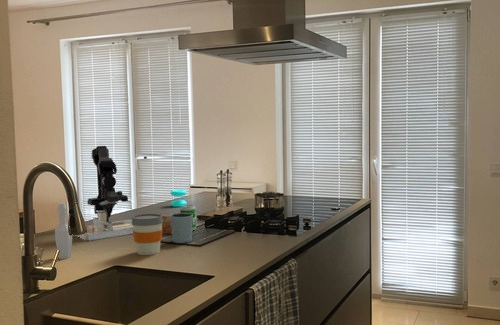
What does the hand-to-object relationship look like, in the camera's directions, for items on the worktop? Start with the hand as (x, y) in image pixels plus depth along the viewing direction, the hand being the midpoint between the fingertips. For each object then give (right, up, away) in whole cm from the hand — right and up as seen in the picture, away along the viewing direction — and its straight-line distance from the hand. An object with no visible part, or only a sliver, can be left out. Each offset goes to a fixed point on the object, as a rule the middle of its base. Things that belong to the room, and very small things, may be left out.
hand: (108, 217), depth 261 cm
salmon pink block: (-7, -7, -1) cm, 10 cm away
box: (-7, -8, -5) cm, 12 cm away
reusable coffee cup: (+27, -10, -41) cm, 50 cm away
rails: (+1, -7, +1) cm, 8 cm away
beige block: (-2, -5, -5) cm, 7 cm away
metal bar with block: (-3, -4, -2) cm, 5 cm away
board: (+4, -7, +4) cm, 9 cm away
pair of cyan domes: (+24, -1, +79) cm, 83 cm away
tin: (+28, -7, -2) cm, 29 cm away
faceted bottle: (-5, -12, -46) cm, 48 cm away
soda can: (+39, -7, +2) cm, 39 cm away
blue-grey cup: (+39, -9, -22) cm, 45 cm away
